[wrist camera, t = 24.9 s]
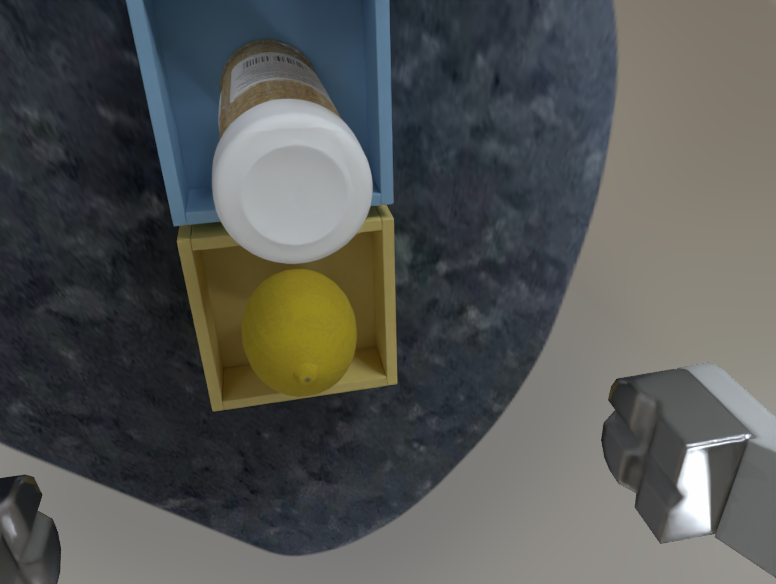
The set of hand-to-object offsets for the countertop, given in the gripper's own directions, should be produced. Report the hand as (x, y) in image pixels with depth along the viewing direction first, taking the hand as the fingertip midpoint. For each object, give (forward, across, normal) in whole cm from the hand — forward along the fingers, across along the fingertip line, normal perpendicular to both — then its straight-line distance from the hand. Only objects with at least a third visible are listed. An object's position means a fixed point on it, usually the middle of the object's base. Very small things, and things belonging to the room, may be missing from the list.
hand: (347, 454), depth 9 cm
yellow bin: (+24, 0, +11) cm, 27 cm away
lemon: (+24, 0, +11) cm, 26 cm away
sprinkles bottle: (+24, 0, 0) cm, 24 cm away
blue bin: (+24, 0, 0) cm, 24 cm away
